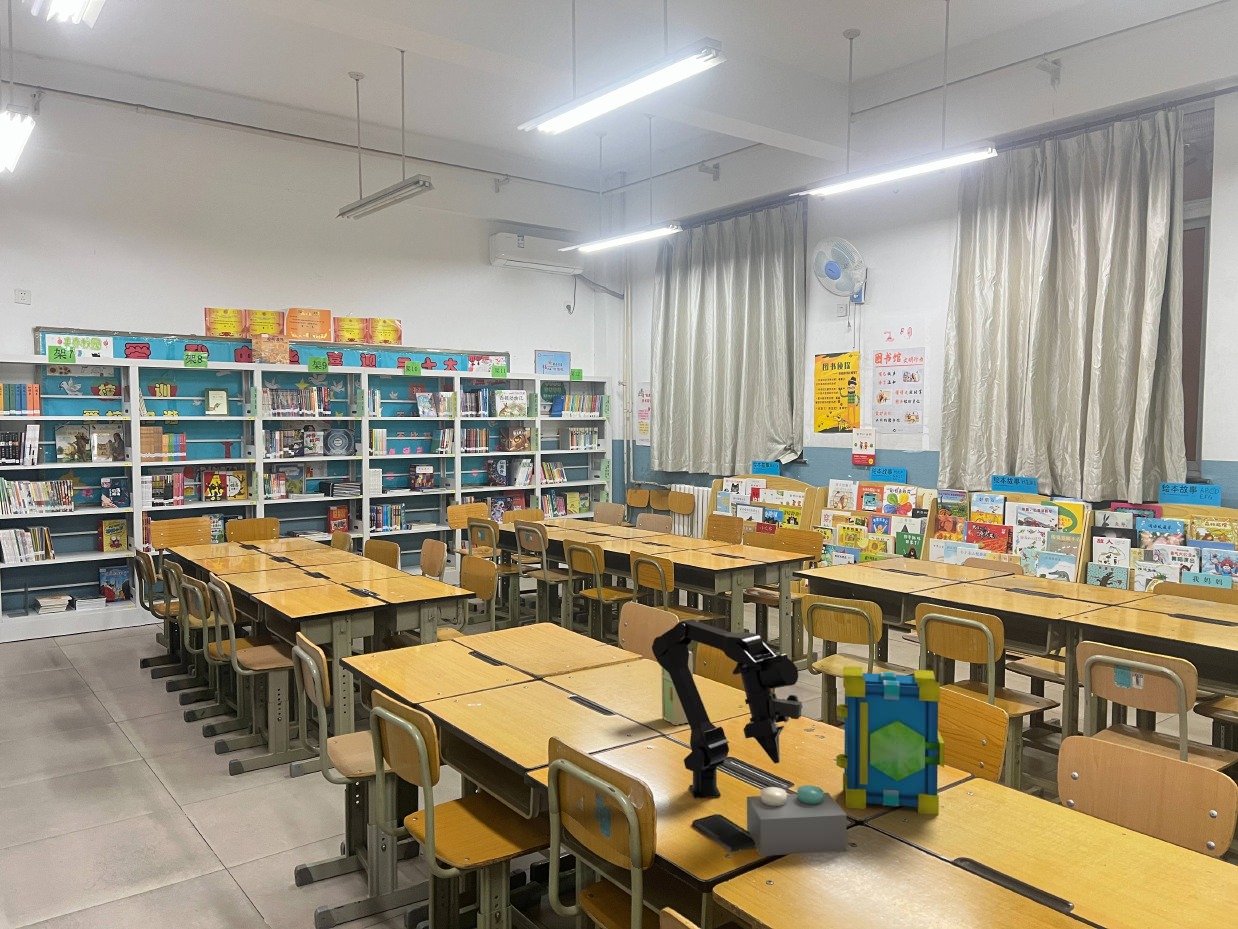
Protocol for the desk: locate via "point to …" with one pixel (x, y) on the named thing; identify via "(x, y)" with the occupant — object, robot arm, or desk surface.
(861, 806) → the decorative book
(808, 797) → the teal button
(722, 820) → the phone
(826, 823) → the button box
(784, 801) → the cream button
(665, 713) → the toy refrigerator
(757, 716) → the robot arm
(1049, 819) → the desk surface
